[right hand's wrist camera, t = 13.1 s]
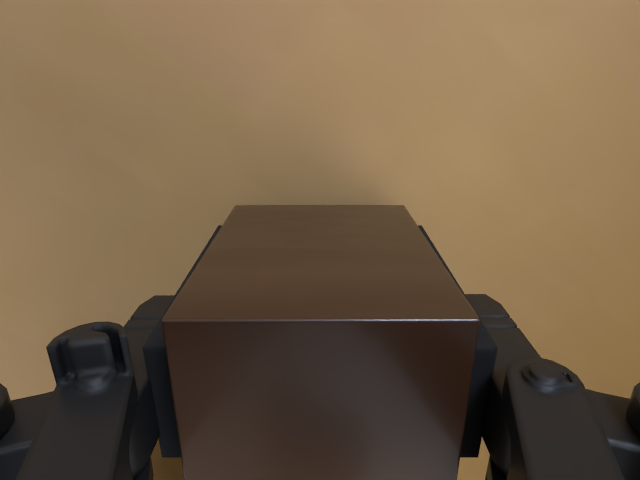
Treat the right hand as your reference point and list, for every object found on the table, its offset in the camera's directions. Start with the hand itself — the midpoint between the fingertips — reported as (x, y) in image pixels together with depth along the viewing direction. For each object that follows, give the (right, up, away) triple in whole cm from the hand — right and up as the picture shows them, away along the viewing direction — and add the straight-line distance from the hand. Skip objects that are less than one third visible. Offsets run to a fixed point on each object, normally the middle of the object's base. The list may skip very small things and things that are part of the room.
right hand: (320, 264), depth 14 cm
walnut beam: (0, -14, +4) cm, 15 cm away
